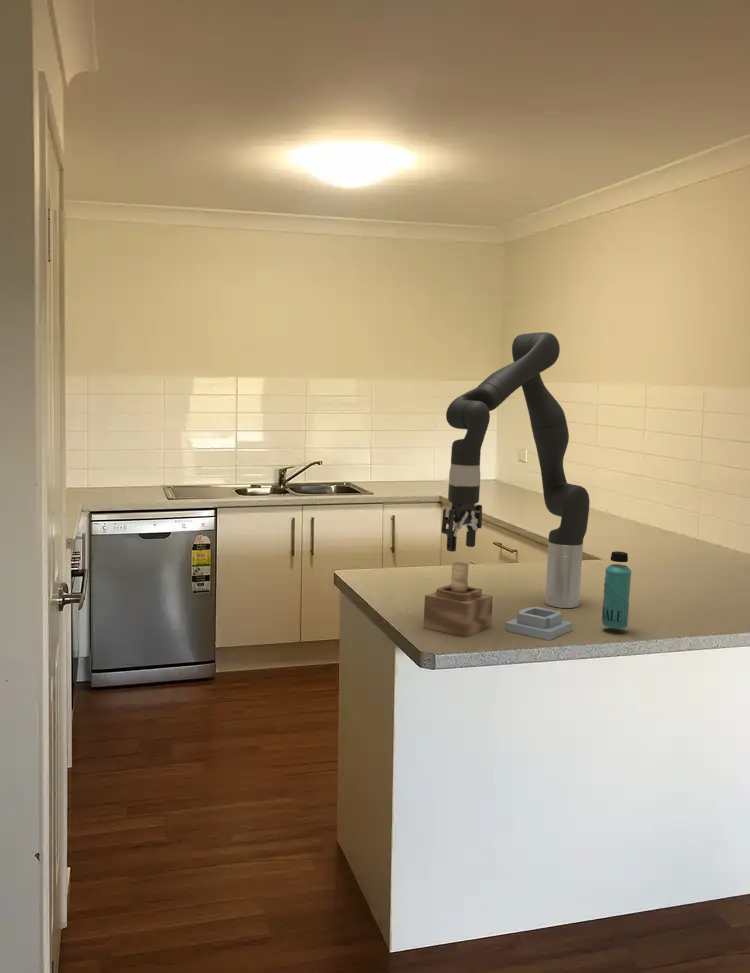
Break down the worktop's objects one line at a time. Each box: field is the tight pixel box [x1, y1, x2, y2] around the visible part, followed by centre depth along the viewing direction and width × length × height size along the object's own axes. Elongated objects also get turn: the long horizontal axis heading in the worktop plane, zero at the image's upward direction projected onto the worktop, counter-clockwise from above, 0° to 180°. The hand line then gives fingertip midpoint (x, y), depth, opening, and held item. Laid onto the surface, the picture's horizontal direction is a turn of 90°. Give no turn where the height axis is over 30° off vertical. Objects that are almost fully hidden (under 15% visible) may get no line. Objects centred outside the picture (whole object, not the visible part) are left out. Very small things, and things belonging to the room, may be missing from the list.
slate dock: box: [504, 606, 573, 641], centre depth 235 cm, size 12×12×4 cm
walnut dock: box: [423, 584, 494, 638], centre depth 235 cm, size 12×12×10 cm
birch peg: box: [450, 561, 469, 594], centre depth 234 cm, size 4×4×8 cm
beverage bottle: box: [601, 550, 632, 630], centre depth 236 cm, size 6×7×20 cm
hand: (460, 548), depth 233 cm, fingers open, 8 cm apart
